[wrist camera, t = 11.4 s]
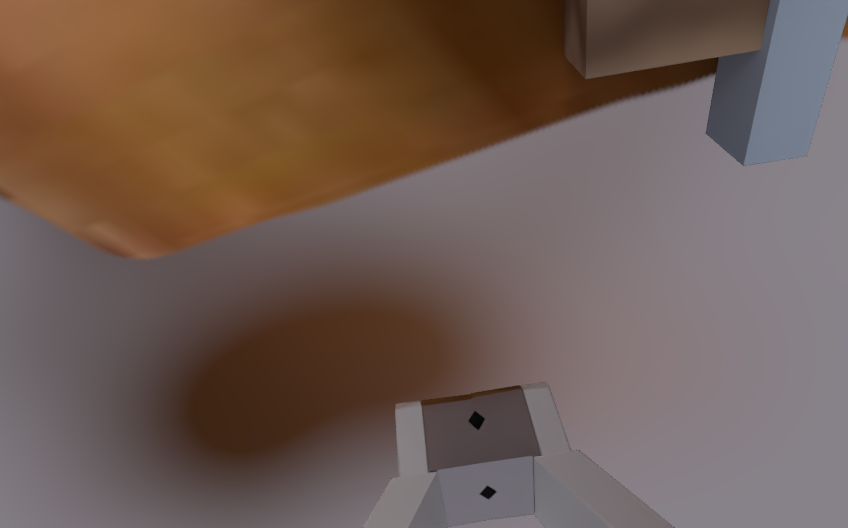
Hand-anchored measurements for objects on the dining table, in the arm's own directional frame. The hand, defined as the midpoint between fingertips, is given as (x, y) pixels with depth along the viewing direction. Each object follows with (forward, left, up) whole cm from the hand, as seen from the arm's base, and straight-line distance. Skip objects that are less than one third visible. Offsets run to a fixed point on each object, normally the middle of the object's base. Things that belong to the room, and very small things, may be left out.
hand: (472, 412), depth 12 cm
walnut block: (0, +15, -29) cm, 33 cm away
